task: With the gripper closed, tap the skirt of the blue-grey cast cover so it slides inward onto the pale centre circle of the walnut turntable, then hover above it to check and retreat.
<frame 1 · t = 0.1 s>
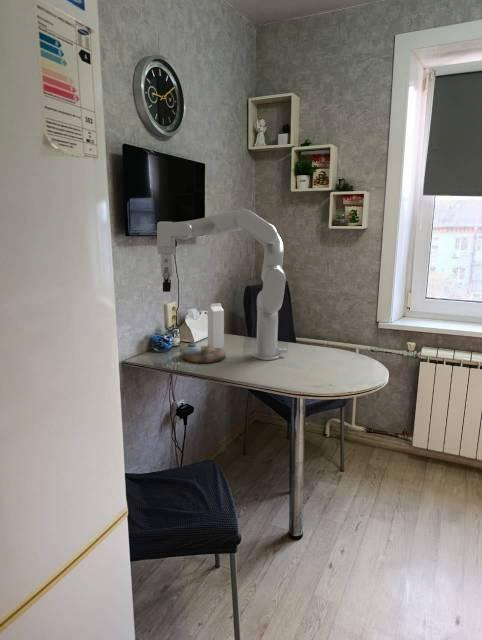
hand: (166, 290, 191), 31 cm above the table, tool pointing down, fingers open, 9 cm apart
turntable: (203, 354, 199), point 1 cm above the table, hinge at 0.0°, touching cover
cover: (191, 352, 198), point 2 cm above the table, touching turntable
milk: (215, 347, 216), on the table
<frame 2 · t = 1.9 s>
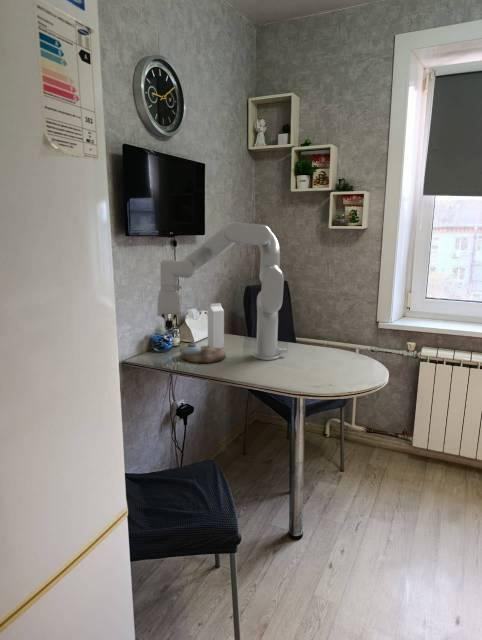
hand: (169, 328, 195), 13 cm above the table, tool pointing down, fingers closed
nothing on the table moved.
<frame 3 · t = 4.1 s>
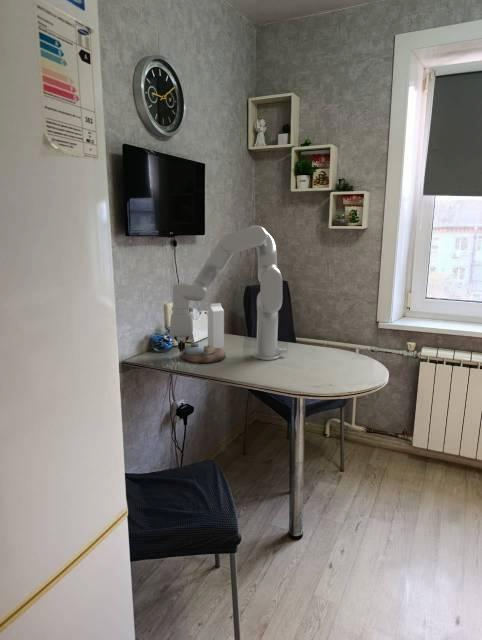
hand: (181, 350, 197), 3 cm above the table, tool pointing down, fingers closed
turntable: (203, 354, 199), point 1 cm above the table, hinge at 0.0°
cover: (194, 352, 198), point 2 cm above the table, touching gripper
everything else where it was.
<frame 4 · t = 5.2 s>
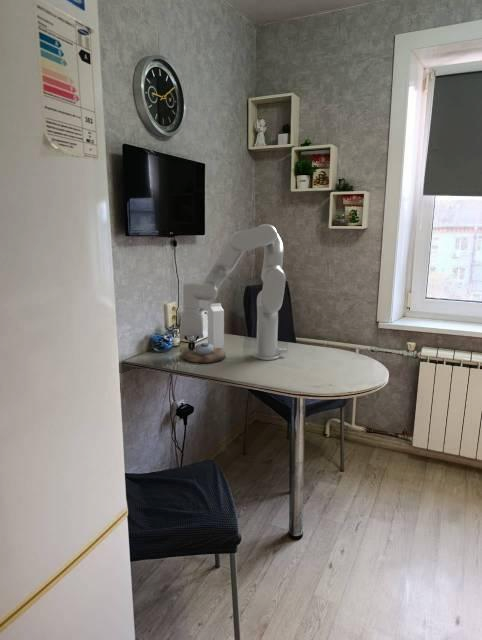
hand: (191, 350, 198), 3 cm above the table, tool pointing down, fingers closed
turntable: (203, 354, 199), point 1 cm above the table, hinge at 0.0°, touching cover
cover: (204, 352, 199), point 2 cm above the table, touching gripper, turntable
everything else where it was.
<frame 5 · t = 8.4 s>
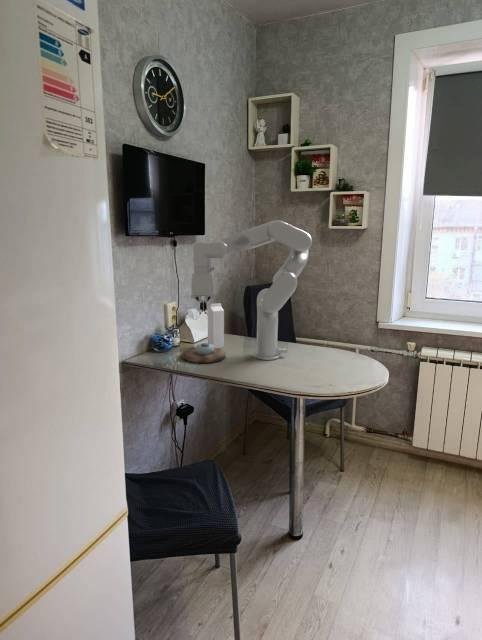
hand: (203, 311, 194), 22 cm above the table, tool pointing down, fingers closed
cover: (205, 352, 199), point 2 cm above the table, touching turntable
everything else where it was.
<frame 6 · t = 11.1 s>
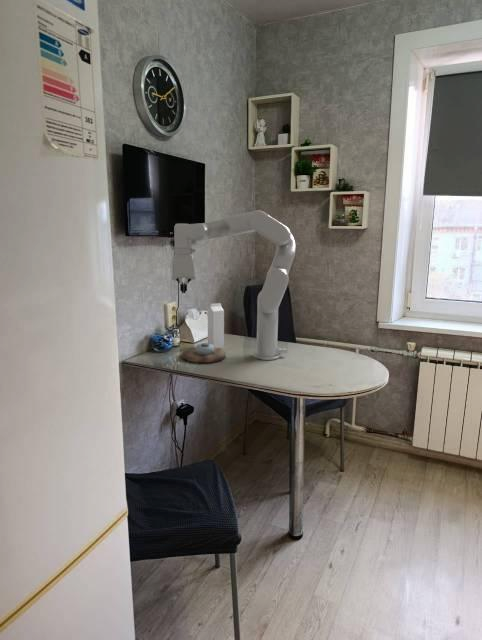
hand: (183, 292, 197), 29 cm above the table, tool pointing down, fingers closed
nothing on the table moved.
at the end: cover 0.6 cm from the turntable (horizontally); cover tilted 0°; cover touching turntable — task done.
